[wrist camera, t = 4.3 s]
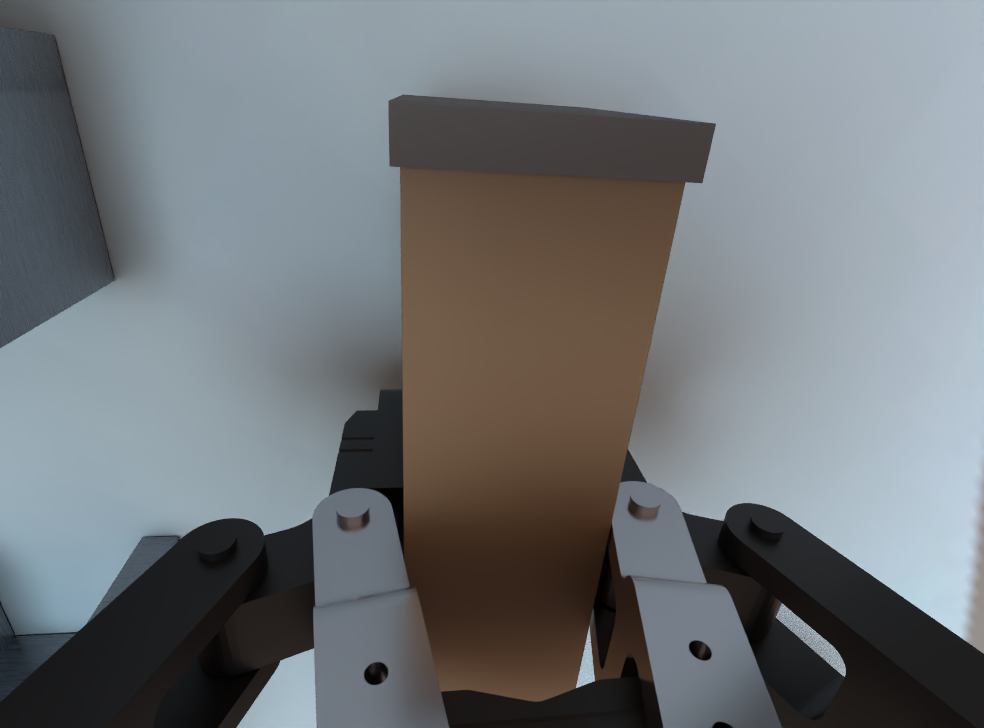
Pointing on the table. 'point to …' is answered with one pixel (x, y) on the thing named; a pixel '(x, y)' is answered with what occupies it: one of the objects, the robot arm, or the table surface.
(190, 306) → the table surface
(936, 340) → the table surface
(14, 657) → the ball knob clevis bracket
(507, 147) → the walnut rail
